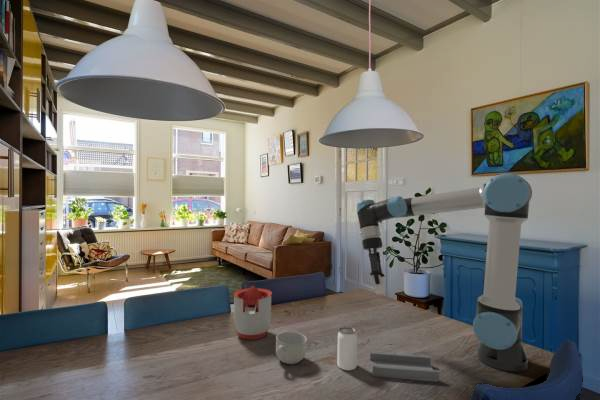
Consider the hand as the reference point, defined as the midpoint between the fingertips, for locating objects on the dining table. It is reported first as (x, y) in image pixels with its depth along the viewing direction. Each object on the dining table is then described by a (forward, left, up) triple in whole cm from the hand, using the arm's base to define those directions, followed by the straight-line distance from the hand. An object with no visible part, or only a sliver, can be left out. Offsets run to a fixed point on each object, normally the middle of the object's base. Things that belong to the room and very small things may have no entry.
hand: (381, 294), depth 123 cm
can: (+13, +15, -21) cm, 29 cm away
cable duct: (-5, +15, -21) cm, 26 cm away
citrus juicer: (+51, -4, -21) cm, 55 cm away
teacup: (+33, +15, -21) cm, 42 cm away
